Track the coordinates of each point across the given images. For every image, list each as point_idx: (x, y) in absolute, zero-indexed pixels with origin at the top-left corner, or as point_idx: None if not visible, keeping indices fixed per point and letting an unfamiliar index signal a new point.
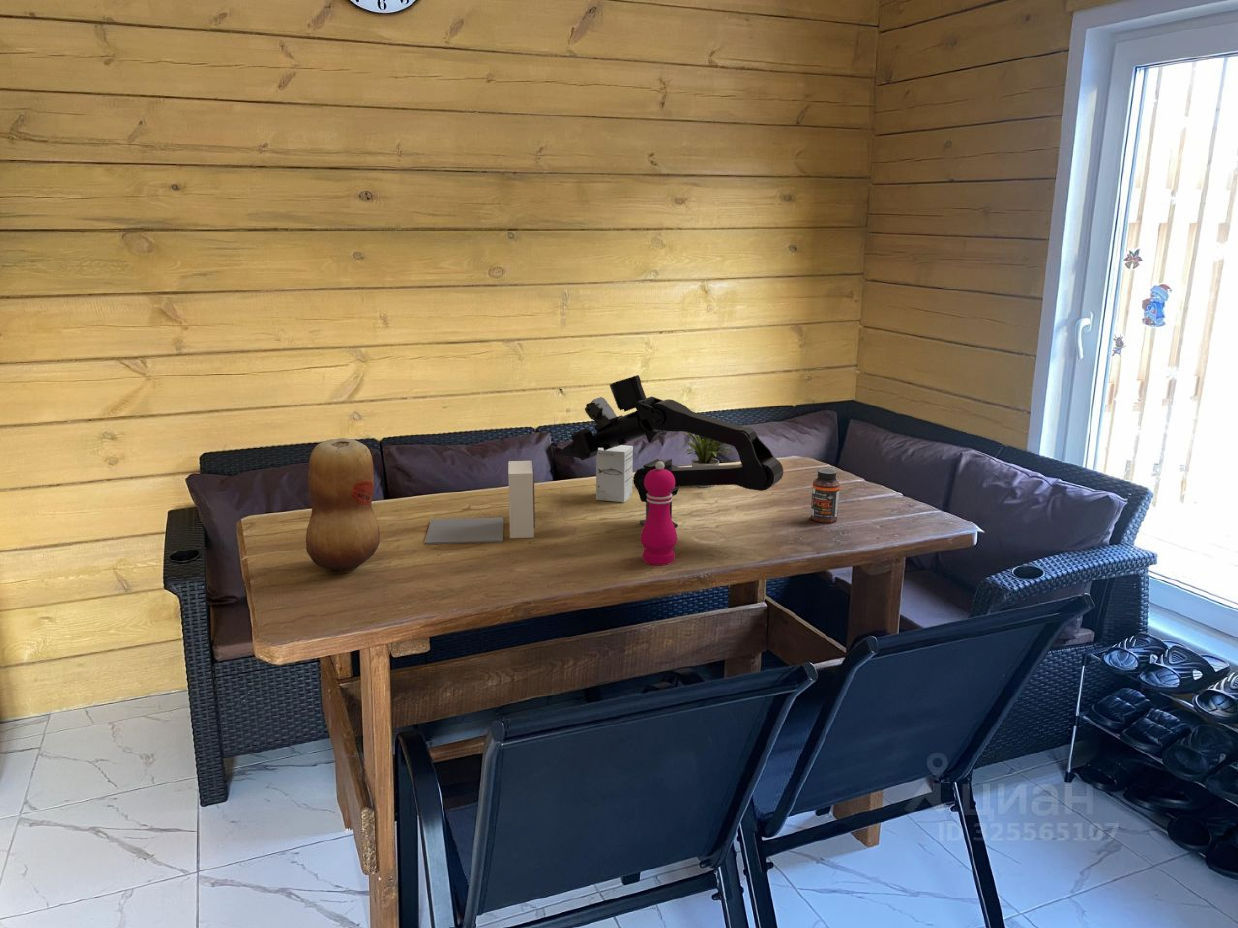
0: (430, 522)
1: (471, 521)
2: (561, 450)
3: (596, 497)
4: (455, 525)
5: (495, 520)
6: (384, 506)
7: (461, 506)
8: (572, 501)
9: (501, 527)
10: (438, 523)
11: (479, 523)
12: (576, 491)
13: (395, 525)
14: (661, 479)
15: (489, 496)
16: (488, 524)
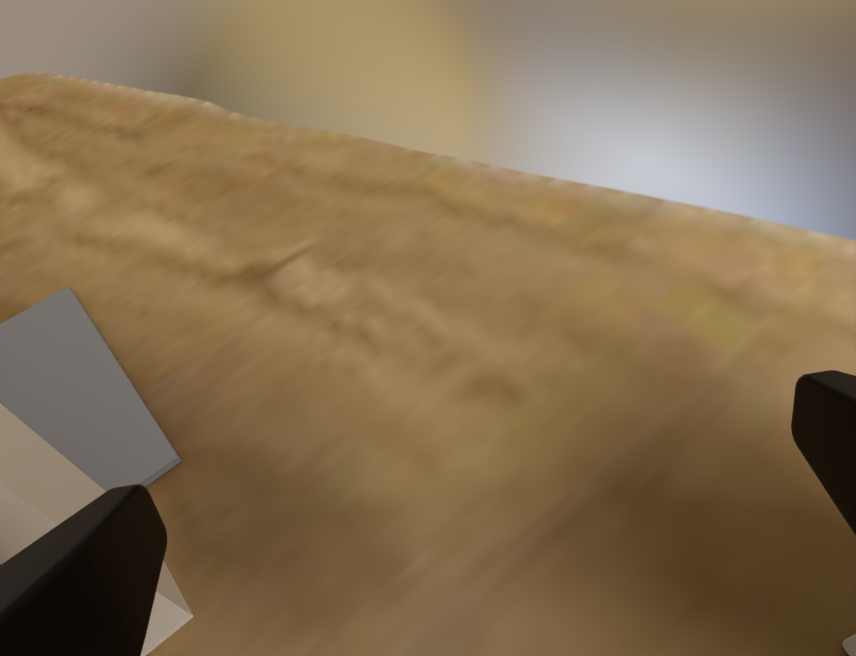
0: (33, 307)
1: (78, 397)
2: (83, 519)
3: (850, 645)
4: (8, 390)
5: (120, 462)
6: (185, 134)
7: (280, 242)
8: (676, 523)
9: None
10: (25, 331)
11: (56, 440)
12: None
13: (6, 255)
14: None
15: (446, 220)
16: None
